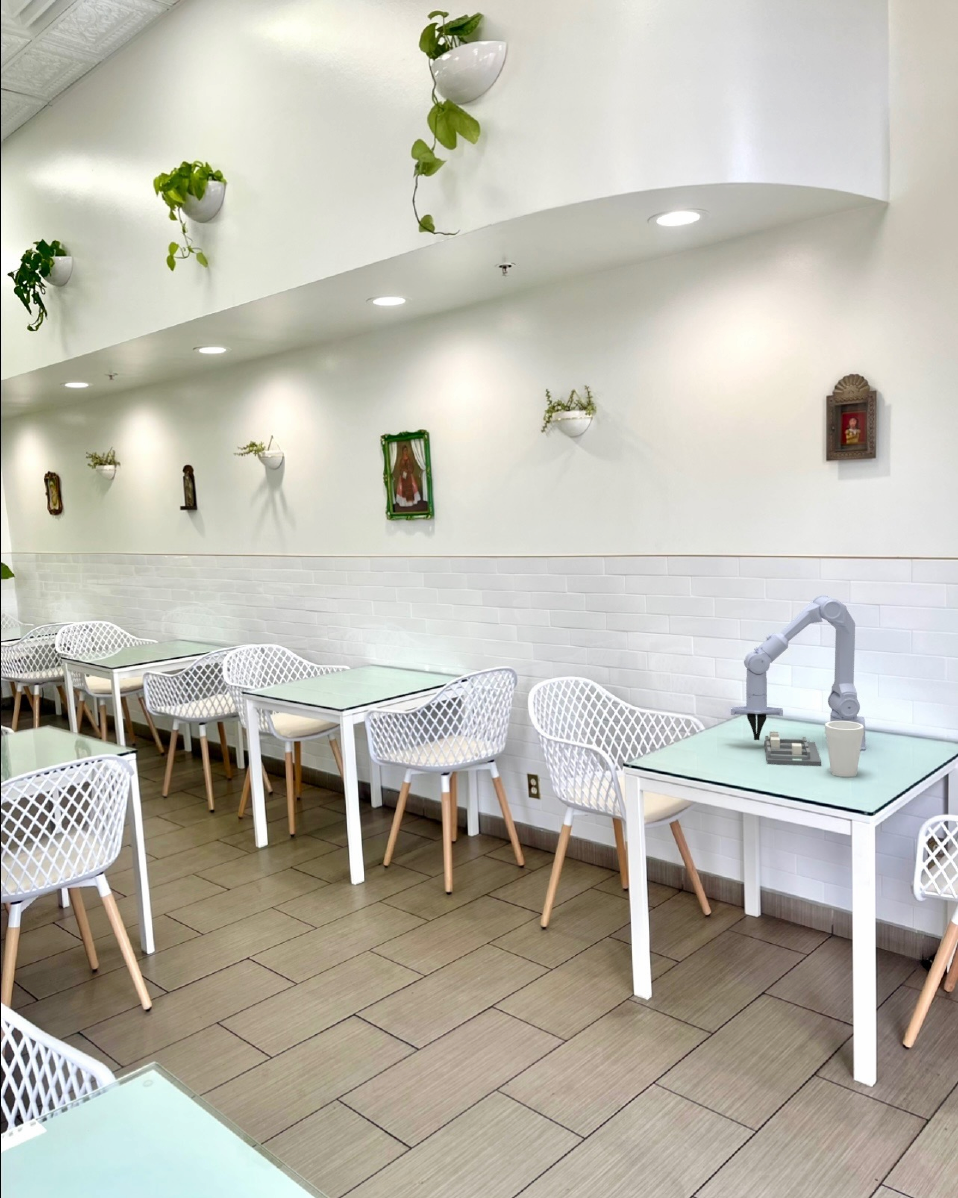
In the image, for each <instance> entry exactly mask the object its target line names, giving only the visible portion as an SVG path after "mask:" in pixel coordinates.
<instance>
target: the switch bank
mask: <svg viewBox="0 0 958 1198" xmlns="http://www.w3.org/2000/svg"><path fill="white" fill-rule="evenodd" d="M764 736H765V739H764V749H765V756H766V763H767V765H783V766H785V765H787V766H788V765H789V766H810V767H811V766H813V767H815V766H816V767H822V760H821V757H820V753H819V751H818V748H817V745H816V743H815V742H814V741H807V738H806V736H802V738H801V739H799V738H798V739H796V738H780V749H772V748H770V743H769V735H764ZM792 743H801V746H802V755H792Z"/></svg>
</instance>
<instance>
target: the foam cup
mask: <svg viewBox="0 0 958 1198" xmlns="http://www.w3.org/2000/svg"><path fill="white" fill-rule="evenodd" d="M824 733H825V739H826V745H827V753H828V761H829V762H828V763H829V769H830V773H831V774H832V775H833V776H837V777H839V778H841V777H842V778H852V777H853V778H854V777H856V776H857V774H858V769H859V762H860V757H861V751H862V750H861V744H862V737H863V736H864V726H863V725H862V724H859V723H856V722H850V721H832V722H830V721H828V722H825V723H824Z"/></svg>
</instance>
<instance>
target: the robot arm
mask: <svg viewBox="0 0 958 1198" xmlns="http://www.w3.org/2000/svg"><path fill="white" fill-rule="evenodd" d="M823 619H824V621H827V622H828V623H829V624H830V625H831V626H833V628H834V629H835V640H834V641H835V643H834V644H835V646H834V647H835V649H834V650H835V651H834V681H833V683H832V685H831V689H830V690H831V691H830V694H829V696H828V699H827V704H828V706H829V708H830V709H831V712H830V714H829V715H830V717H829V719H830V721H829V722H832V721H850V722H856V723H859V724H862V725H863V726H864V736H863V737H862V744H861V750H860V751H863V750H864V751H865V750H866V720H865V716H859V715H858V714H859V713H860V709H861V705H860V702H859V700H858V692H857V690H856V688H855V683H854V681H855V680H854V679H855V675H854V674H855V648H856V646H855V645H856V623H855V620H854V619H853V617H852V615H851V614H850V612H849V610H848V608H847V606H846V605H845V604H843V602H841V601H839V600H838V599H836V598H831V597H829V596H828V595H819V596H816V597H815V598H814V599H813V600H812V601H811V602H809V603H808V604H807V605H806V606H805V607H804V608H803V609H802V610H801V611H800V612H799V613H798V614H797V615H796V616H795V618H793V619H792V620H791V621H790V622H789V623H788V624H787V625H786V626H785V628H784V629H782V630H781V632H778V633H775V632H774V633H772V634H768V635H767V636H765V640H764V641H763V642H762V643H761V644H760V645H759V646H758V647H757V646H755V648H754V649H753V650H754V651H751V652H749V653H748V654H747V655H746V656H745V659H744V660H743V664H744V666H745V668H746V678H745V680H746V681H745V682H746V684H745V685H746V687H745V691H746V693H745V694H746V696H745V697H746V699H745V700H746V702H745V703H746V706H730V715H731V716H736V715H740V716H741V715H746V717H747V721H748V723H749V724H750V727H751V730H752V733H753V740H754V741H760V737H761V732H762V729H763V726H764V724H765V722H766V721H767V716H779V717H783V716H784V709H783V707H772V706H768V693H767V692H768V687H767V686H768V678H767V672H768V671H769V669H770V665H771V664H772V663H773V662H774V661H775V660H776V659H778V657H780V655H781V654H783V652H785V651H786V650H787V649H788V648H789V641H790V640H792V639H793V638H794V637H796V636H797V635H799V633H800V632H802V631H803V630H804V629H805V628H806V627H808V626H809V625H810V624H814V623H815V624H817V623H822V622H823Z"/></svg>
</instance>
